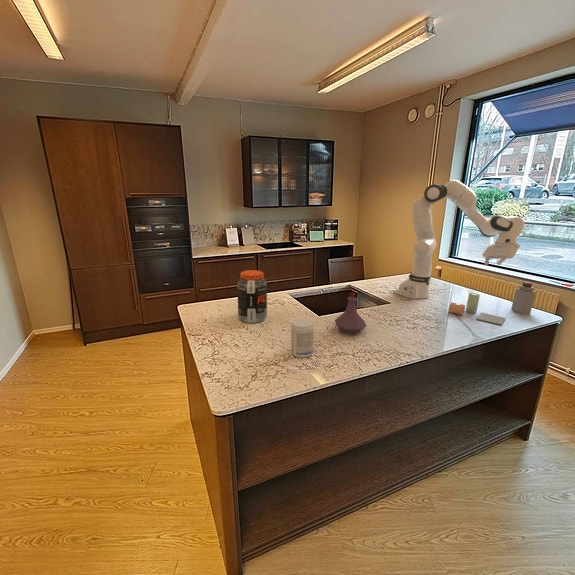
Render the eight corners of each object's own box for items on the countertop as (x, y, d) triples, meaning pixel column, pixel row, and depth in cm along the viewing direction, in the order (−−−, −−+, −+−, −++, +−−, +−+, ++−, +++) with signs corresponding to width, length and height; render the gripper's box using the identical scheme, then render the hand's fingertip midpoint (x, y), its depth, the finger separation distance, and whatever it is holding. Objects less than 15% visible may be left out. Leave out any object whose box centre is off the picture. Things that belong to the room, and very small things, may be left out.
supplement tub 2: (317, 352, 141) (318, 321, 137) (304, 361, 134) (305, 328, 130) (300, 345, 147) (300, 315, 143) (286, 353, 140) (286, 322, 136)
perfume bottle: (530, 313, 188) (537, 284, 182) (518, 313, 188) (525, 284, 182) (522, 309, 194) (529, 281, 188) (511, 309, 194) (517, 280, 189)
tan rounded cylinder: (447, 312, 186) (450, 302, 185) (450, 311, 191) (452, 301, 190) (461, 315, 182) (463, 305, 181) (463, 314, 187) (465, 304, 186)
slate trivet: (476, 319, 178) (476, 318, 178) (480, 313, 187) (481, 312, 187) (501, 325, 171) (501, 324, 171) (505, 319, 179) (505, 317, 179)
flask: (327, 326, 167) (329, 290, 161) (354, 322, 173) (357, 286, 167) (344, 340, 153) (347, 300, 146) (373, 335, 158) (377, 296, 152)
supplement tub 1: (262, 325, 168) (262, 277, 160) (234, 322, 171) (232, 275, 163) (270, 313, 183) (270, 269, 175) (244, 311, 185) (242, 268, 178)
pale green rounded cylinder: (464, 312, 189) (467, 294, 186) (466, 309, 193) (470, 292, 190) (475, 314, 185) (478, 296, 182) (477, 311, 190) (480, 294, 186)
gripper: (486, 241, 195) (475, 261, 195) (514, 239, 174) (501, 261, 175) (494, 247, 196) (483, 266, 196) (523, 245, 175) (510, 267, 175)
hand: (491, 264), depth 185 cm, fingers open, 8 cm apart
